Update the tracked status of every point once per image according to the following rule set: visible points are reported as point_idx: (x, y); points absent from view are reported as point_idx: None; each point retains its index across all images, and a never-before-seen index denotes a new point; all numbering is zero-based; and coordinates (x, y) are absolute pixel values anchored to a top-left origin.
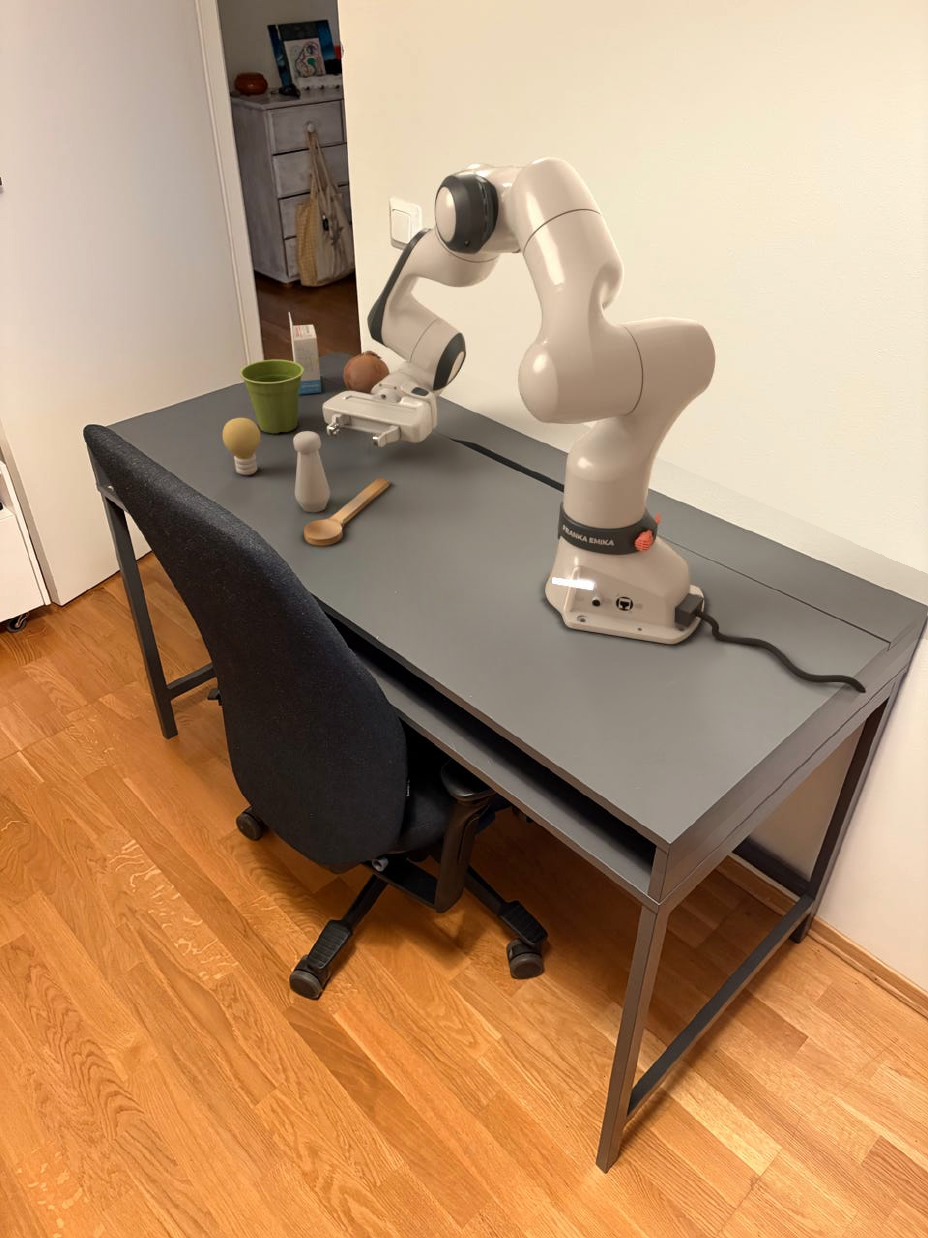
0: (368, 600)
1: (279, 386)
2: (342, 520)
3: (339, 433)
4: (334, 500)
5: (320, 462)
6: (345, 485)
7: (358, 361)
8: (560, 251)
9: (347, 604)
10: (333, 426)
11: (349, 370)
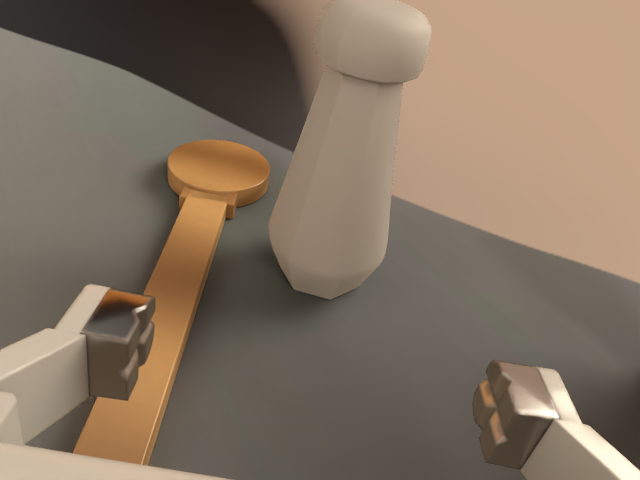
0: (46, 69)
1: None
2: (185, 198)
3: (482, 450)
4: (277, 312)
5: (314, 126)
6: (293, 415)
7: None
8: None
9: (86, 65)
10: (517, 374)
11: None
